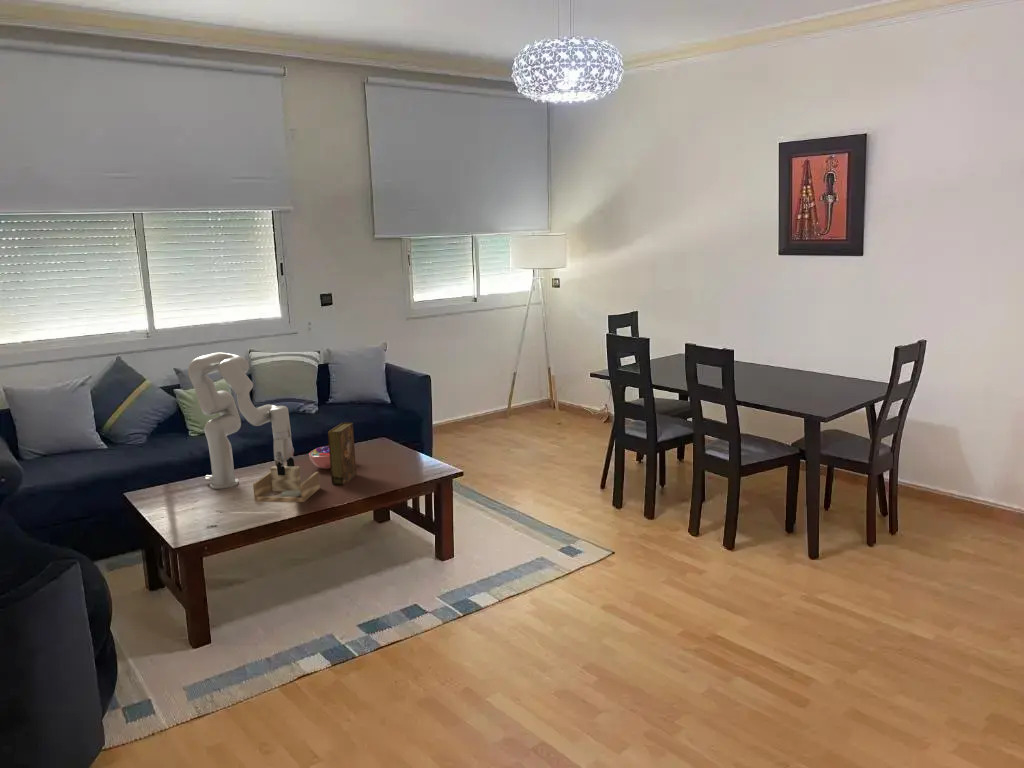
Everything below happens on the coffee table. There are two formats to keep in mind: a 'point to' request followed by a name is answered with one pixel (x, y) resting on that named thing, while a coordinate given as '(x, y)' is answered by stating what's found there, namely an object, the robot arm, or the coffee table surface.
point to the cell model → (321, 457)
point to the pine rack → (265, 486)
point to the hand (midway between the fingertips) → (286, 471)
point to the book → (342, 453)
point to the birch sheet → (286, 479)
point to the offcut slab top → (291, 493)
